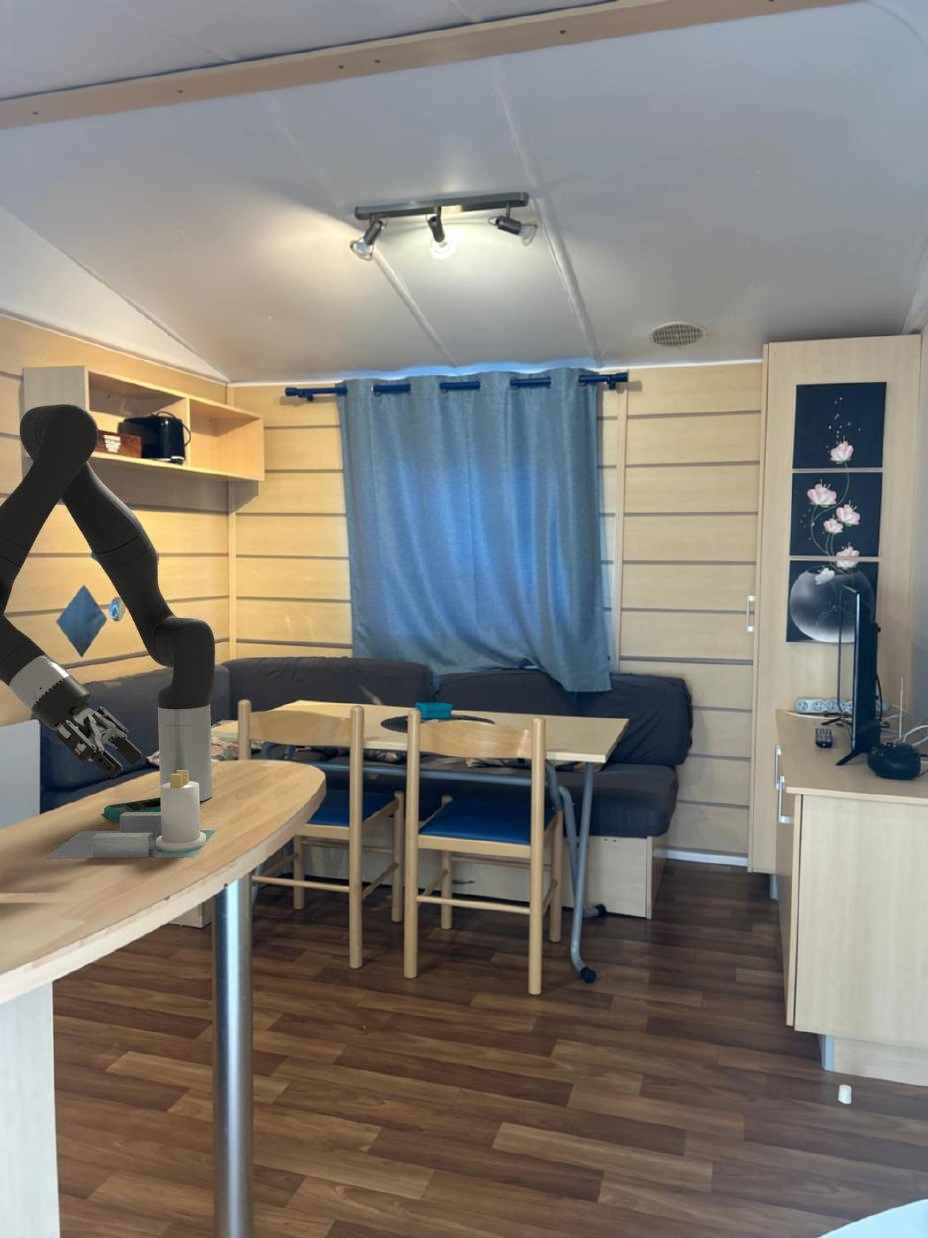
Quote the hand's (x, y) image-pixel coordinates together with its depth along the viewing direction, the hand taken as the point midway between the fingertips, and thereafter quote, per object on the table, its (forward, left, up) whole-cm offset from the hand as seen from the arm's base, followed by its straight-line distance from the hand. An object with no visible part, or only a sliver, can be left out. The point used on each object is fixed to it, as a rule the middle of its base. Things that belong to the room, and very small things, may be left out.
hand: (129, 766), depth 139 cm
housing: (0, +1, -13) cm, 13 cm away
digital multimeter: (-18, -3, -13) cm, 23 cm away
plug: (0, +8, -12) cm, 14 cm away
